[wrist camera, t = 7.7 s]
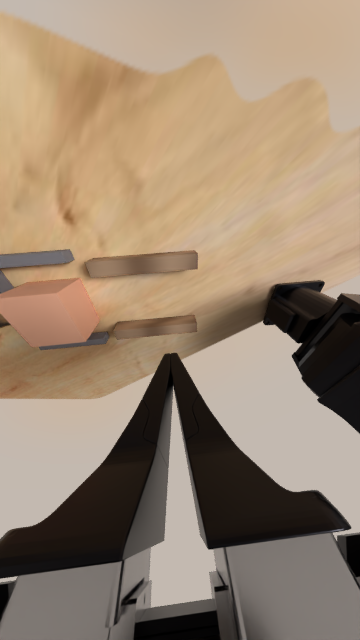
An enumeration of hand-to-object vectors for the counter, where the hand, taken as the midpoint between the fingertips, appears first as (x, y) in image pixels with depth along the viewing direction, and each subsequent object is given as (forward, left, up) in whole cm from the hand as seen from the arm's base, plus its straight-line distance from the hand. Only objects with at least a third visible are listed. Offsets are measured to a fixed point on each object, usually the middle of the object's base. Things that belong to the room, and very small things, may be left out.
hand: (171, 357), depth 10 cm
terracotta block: (+13, 0, -11) cm, 17 cm away
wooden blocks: (+2, 0, -10) cm, 11 cm away
